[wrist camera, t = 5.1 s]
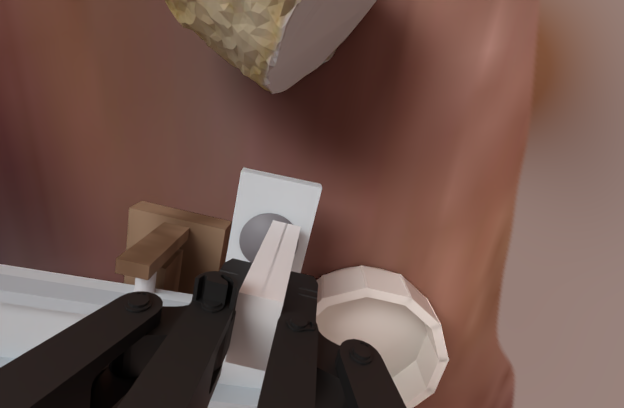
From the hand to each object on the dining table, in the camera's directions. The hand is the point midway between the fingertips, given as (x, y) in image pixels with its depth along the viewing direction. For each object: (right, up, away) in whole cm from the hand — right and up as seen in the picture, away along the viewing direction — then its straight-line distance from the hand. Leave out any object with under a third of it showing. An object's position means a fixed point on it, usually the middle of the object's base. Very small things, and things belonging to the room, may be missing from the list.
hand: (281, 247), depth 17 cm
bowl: (+5, -7, +7) cm, 11 cm away
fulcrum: (-8, -4, +7) cm, 11 cm away
